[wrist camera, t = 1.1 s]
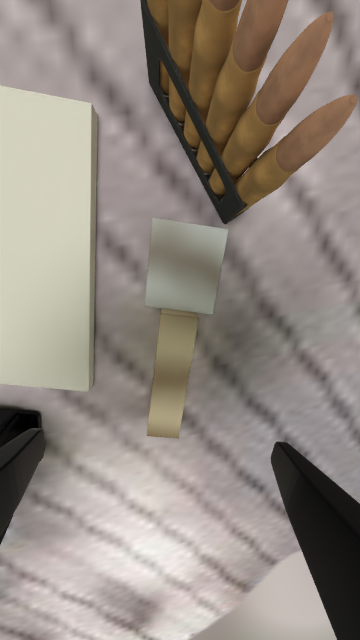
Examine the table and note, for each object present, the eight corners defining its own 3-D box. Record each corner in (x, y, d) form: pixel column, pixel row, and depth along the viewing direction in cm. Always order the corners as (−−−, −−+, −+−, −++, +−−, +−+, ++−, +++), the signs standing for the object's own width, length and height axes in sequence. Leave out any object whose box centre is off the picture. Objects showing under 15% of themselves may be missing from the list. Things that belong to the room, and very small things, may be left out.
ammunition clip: (243, 211, 17) (401, 114, 5) (224, 225, 17) (333, 160, 6) (170, 62, 14) (167, -862, 2) (148, 81, 14) (46, -675, 3)
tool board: (93, 384, 21) (88, 391, 20) (-2, 375, 20) (-12, 382, 19) (97, 115, 14) (91, 103, 13) (-40, 89, 14) (-59, 74, 13)
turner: (191, 416, 23) (193, 439, 20) (136, 411, 22) (130, 434, 19) (225, 230, 17) (236, 225, 14) (153, 219, 17) (149, 212, 14)
